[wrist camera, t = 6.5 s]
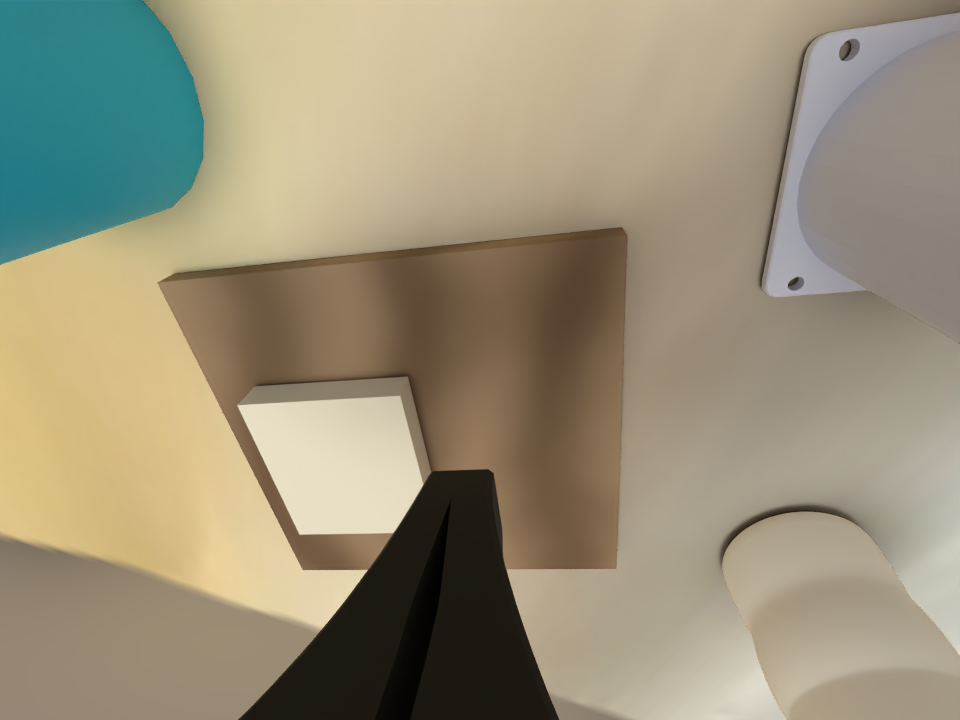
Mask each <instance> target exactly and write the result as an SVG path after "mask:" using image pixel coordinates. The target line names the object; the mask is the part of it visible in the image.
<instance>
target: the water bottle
mask: <svg viewBox="0 0 960 720" xmlns="http://www.w3.org/2000/svg"><path fill="white" fill-rule="evenodd" d="M722 570H723V575H724V578H725V581H726V584H727V587H728V589H729V591H730V594H731V596H732V598H733V601H734V603H735V605H736V607H737V609H738V611H739V613H740V615H741V617H742V619H743V621H744V623H745V624H746V626H747V628H748V630H749V631H750V633H751V635H752V638H753V641H754V645H755V649H756V653H757V657H758V660H759V663H760V666H761V668H762V671H763V673H764V676H765V678H766V681H767V683H768V685H769V688H770V690H771V692H772V694H773V696H774V698H775V700H776V702H777V704H778V706H779V707H780V709H781V711H782V712H783V714H784V715H785V717H786V718H787V720H960V656H959V654H958V653H957V651H956V650H955V648H954V647H953V646H952V644H951V643H950V642H949V640H948V639H947V638H946V636H945V635H944V634H943V633H942V631H941V630H940V629H939V628H938V626H937V625H936V624H935V623H934V622H933V621H932V619H931V618H930V617H929V616H928V615H927V614H926V613H925V612H924V611H923V610H922V609H921V608H920V607H919V606H918V605H917V604H916V603H915V602H914V601H913V600H912V599H911V597H910V596H909V594H908V593H907V591H906V589H905V587H904V585H903V584H902V582H901V580H900V579H899V577H898V575H897V574H896V572H895V571H894V569H893V568H892V566H891V565H890V563H889V562H888V560H887V559H886V558H885V556H884V555H883V553H882V552H881V551H880V549H879V548H878V547H877V546H876V544H875V543H874V542H873V540H872V539H871V538H870V537H869V536H868V535H867V533H866V532H865V531H863V530H862V529H861V528H860V527H859V526H857V525H856V524H854V523H852V522H851V521H849V520H847V519H844V518H841V517H838V516H835V515H831V514H827V513H820V512H791V513H785V514H780V515H776V516H772V517H769V518H766V519H764V520H761V521H759V522H757V523H755V524H753V525H751V526H749V527H748V528H746V529H745V530H743V531H742V532H741V533H740V534H739V535H737V536H736V537H735V538H734V540H733V541H732V542H731V543H730V545H729V546H728V548H727V549H726V551H725V554H724V557H723V561H722Z"/></svg>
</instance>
